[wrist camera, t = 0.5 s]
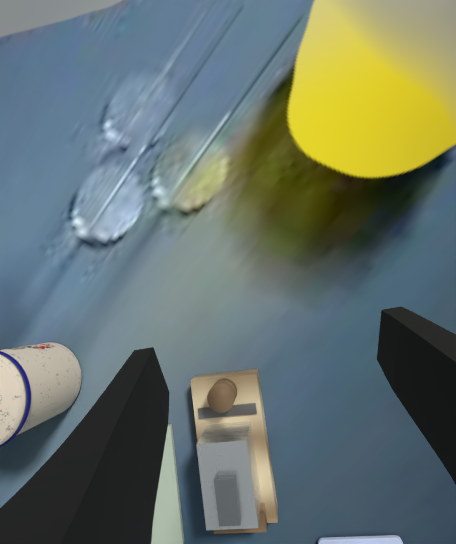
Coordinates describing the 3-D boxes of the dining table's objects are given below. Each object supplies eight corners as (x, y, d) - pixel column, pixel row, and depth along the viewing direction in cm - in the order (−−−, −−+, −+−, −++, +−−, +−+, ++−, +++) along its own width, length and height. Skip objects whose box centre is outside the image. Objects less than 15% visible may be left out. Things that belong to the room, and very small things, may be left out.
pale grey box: (260, 495, 30) (257, 534, 25) (216, 497, 31) (204, 536, 26) (250, 420, 31) (245, 443, 26) (207, 424, 32) (194, 447, 27)
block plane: (277, 505, 32) (277, 542, 27) (212, 509, 33) (201, 544, 28) (257, 368, 34) (254, 379, 29) (196, 375, 35) (183, 387, 30)
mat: (184, 540, 33) (182, 544, 33) (115, 543, 34) (112, 546, 34) (171, 424, 35) (170, 426, 34) (106, 430, 36) (103, 431, 35)
